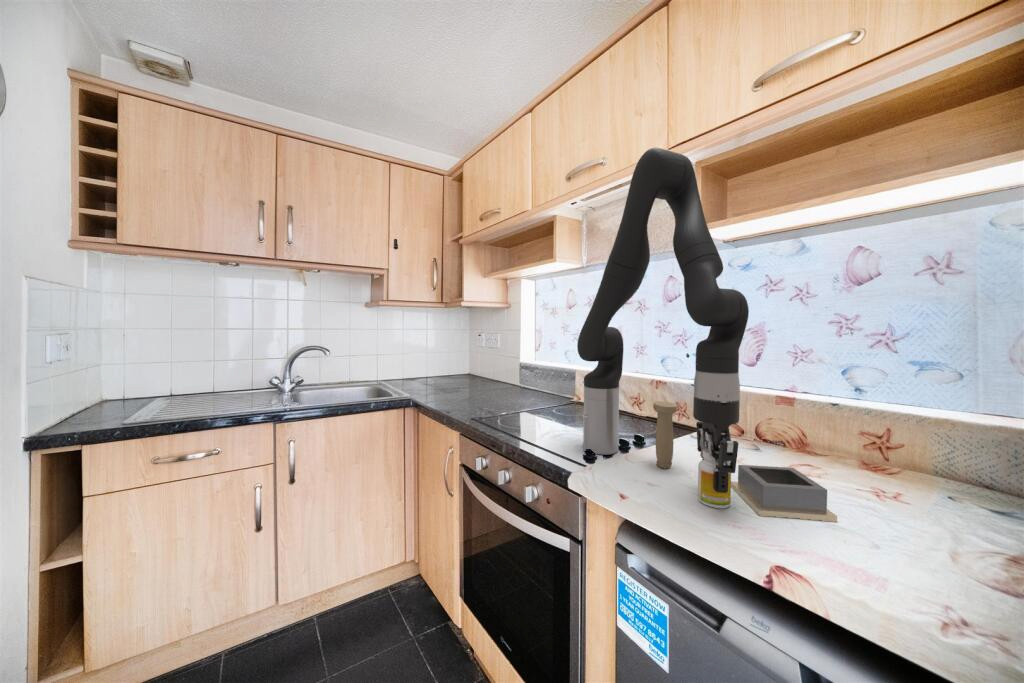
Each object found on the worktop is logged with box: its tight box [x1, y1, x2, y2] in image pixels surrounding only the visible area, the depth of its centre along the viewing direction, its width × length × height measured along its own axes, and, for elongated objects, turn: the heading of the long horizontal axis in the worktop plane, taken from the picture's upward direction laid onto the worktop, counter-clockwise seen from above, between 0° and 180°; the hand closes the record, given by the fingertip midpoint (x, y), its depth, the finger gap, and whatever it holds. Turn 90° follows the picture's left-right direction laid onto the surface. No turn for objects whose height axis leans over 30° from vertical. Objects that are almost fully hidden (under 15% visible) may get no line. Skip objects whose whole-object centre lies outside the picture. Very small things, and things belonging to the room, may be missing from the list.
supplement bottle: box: [697, 448, 732, 509], centre depth 68 cm, size 5×5×10 cm
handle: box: [652, 400, 678, 469], centre depth 86 cm, size 5×6×15 cm
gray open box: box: [731, 464, 838, 523], centre depth 68 cm, size 12×12×5 cm
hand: (714, 484), depth 68 cm, fingers closed on supplement bottle, 5 cm apart
